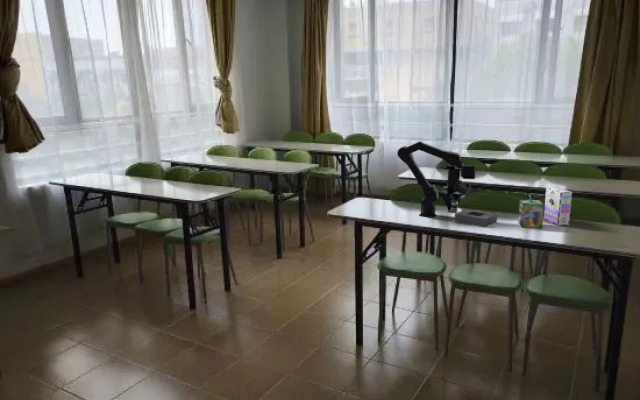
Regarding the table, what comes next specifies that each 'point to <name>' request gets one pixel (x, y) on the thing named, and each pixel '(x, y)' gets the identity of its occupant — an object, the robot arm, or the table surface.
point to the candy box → (557, 206)
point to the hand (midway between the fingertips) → (452, 208)
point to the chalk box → (530, 213)
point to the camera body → (476, 218)
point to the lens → (453, 207)
